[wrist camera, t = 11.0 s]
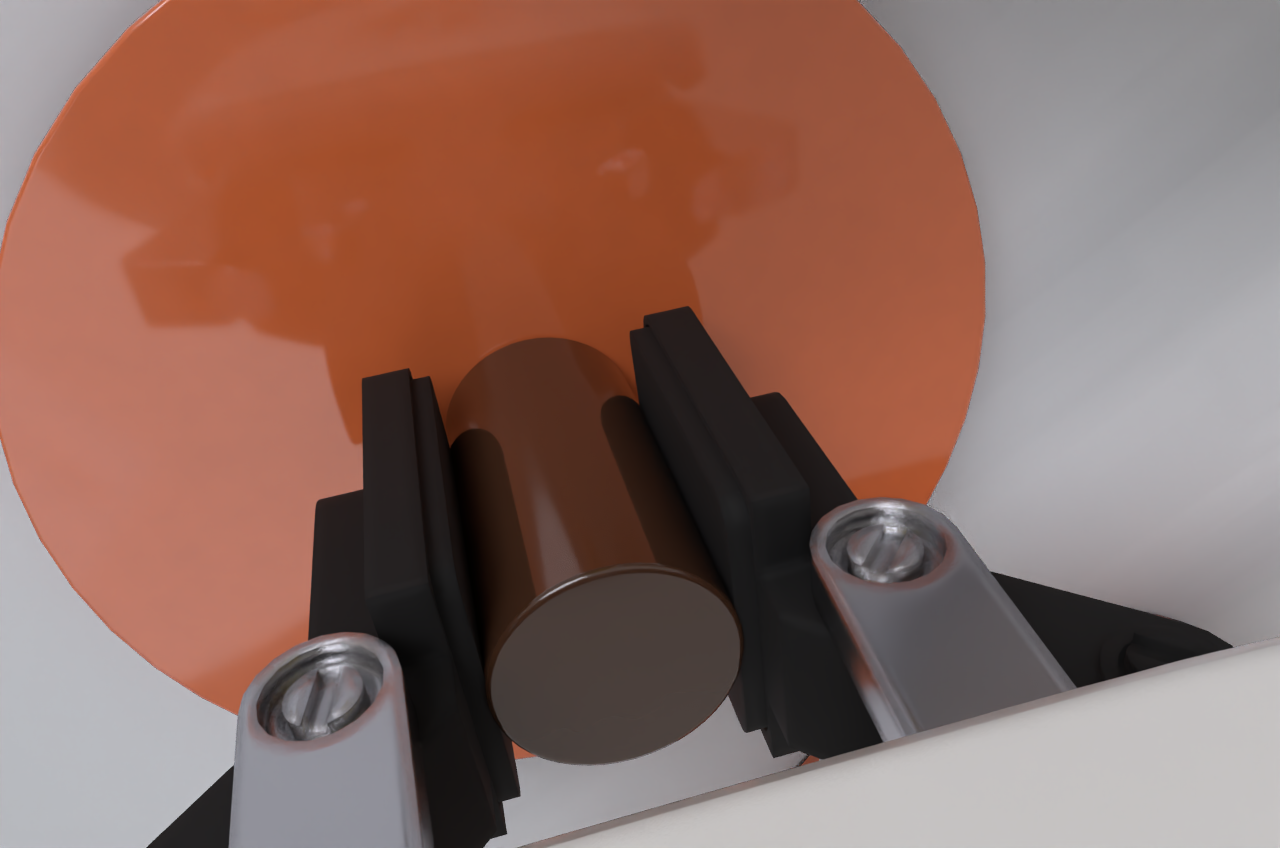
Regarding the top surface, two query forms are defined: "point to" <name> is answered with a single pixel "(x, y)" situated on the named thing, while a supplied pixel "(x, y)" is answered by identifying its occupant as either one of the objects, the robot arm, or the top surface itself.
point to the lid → (472, 315)
